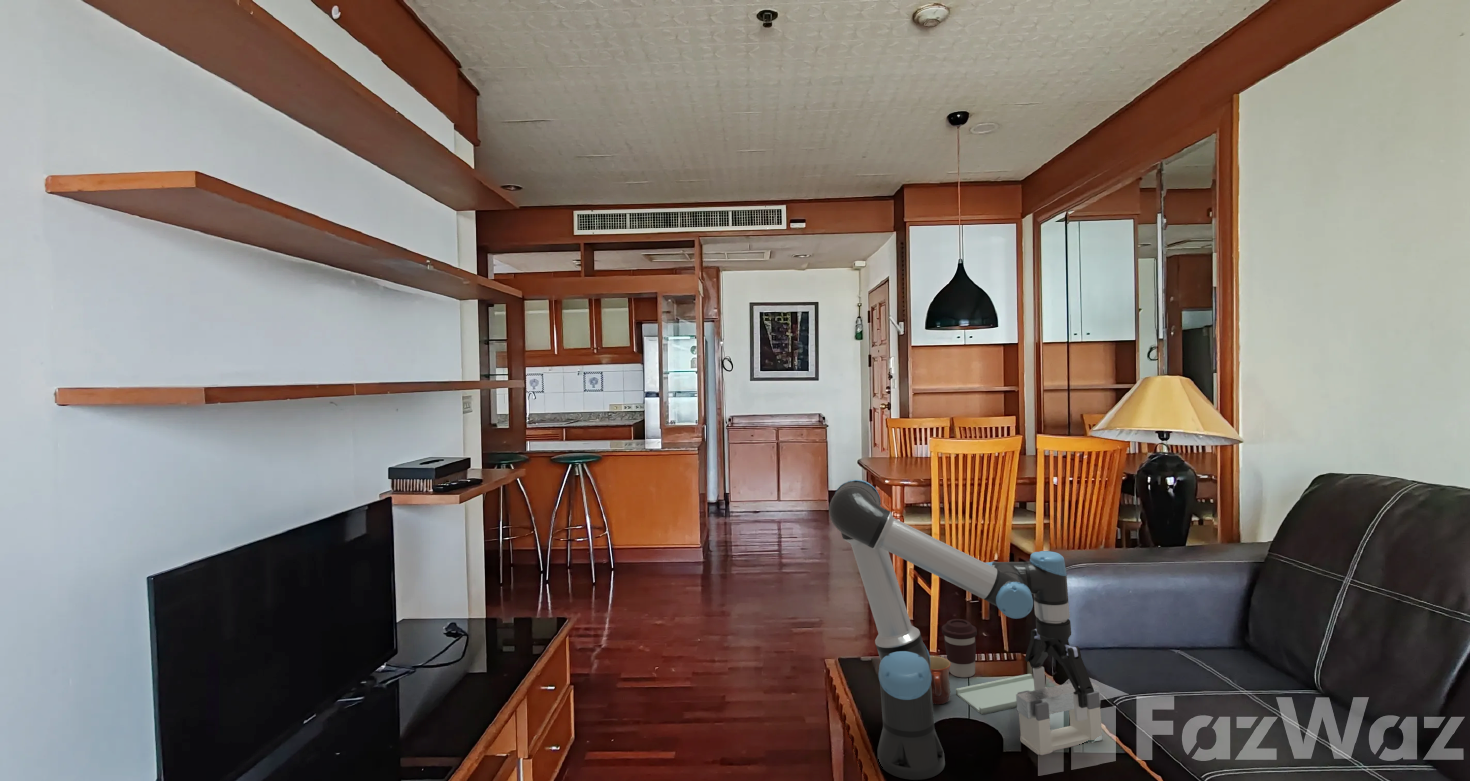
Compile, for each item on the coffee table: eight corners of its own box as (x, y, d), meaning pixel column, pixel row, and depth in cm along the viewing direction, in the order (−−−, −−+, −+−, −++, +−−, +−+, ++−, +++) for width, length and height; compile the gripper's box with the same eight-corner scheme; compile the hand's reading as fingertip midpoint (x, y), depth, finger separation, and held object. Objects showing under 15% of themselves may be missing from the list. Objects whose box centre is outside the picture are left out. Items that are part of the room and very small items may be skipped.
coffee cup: (956, 662, 203) (953, 614, 203) (986, 671, 195) (982, 621, 195) (938, 673, 196) (934, 623, 196) (968, 683, 189) (964, 631, 189)
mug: (919, 691, 186) (916, 655, 186) (951, 692, 184) (948, 655, 184) (922, 712, 174) (919, 674, 174) (957, 713, 173) (954, 675, 172)
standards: (1039, 755, 152) (1035, 706, 151) (1019, 740, 158) (1015, 692, 158) (1104, 739, 156) (1100, 691, 156) (1082, 725, 163) (1078, 679, 162)
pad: (981, 714, 171) (981, 708, 171) (956, 694, 183) (955, 688, 183) (1060, 697, 177) (1059, 691, 177) (1030, 678, 189) (1030, 673, 189)
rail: (1028, 718, 153) (1027, 701, 153) (1017, 710, 157) (1016, 694, 157) (1100, 702, 157) (1099, 686, 157) (1087, 695, 161) (1086, 679, 161)
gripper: (1106, 633, 146) (1114, 727, 146) (1031, 599, 170) (1037, 681, 170) (1078, 638, 144) (1086, 735, 144) (1005, 604, 168) (1012, 686, 168)
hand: (1060, 706), depth 157 cm, fingers open, 13 cm apart
